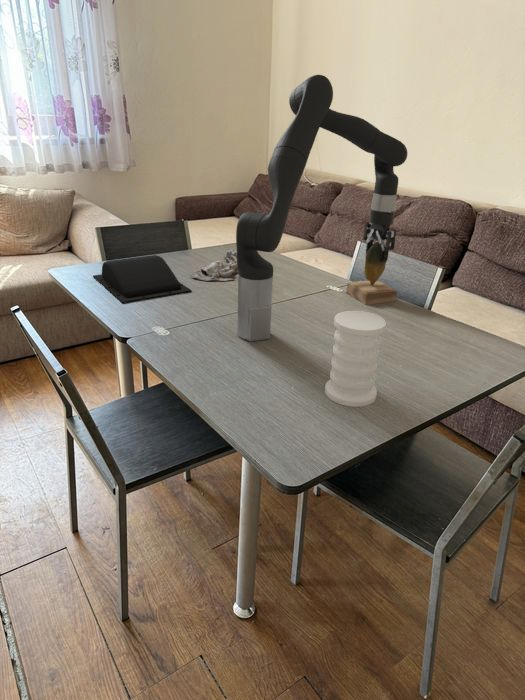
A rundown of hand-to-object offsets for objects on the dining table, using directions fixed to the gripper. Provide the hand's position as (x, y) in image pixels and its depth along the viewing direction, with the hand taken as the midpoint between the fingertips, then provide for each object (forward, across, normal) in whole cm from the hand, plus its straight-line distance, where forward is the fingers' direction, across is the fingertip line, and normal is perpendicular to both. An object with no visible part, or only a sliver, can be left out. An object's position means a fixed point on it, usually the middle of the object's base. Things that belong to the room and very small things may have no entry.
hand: (376, 258), depth 170 cm
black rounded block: (+14, -34, -72) cm, 81 cm away
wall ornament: (+14, -39, -38) cm, 56 cm away
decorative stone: (+10, 0, 0) cm, 10 cm away
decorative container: (+14, +54, -41) cm, 69 cm away
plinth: (+14, 0, 0) cm, 14 cm away
